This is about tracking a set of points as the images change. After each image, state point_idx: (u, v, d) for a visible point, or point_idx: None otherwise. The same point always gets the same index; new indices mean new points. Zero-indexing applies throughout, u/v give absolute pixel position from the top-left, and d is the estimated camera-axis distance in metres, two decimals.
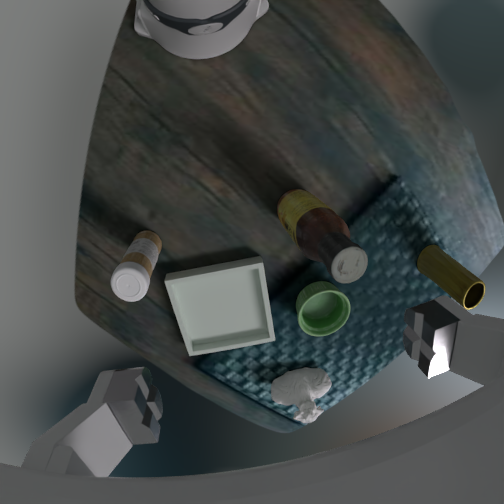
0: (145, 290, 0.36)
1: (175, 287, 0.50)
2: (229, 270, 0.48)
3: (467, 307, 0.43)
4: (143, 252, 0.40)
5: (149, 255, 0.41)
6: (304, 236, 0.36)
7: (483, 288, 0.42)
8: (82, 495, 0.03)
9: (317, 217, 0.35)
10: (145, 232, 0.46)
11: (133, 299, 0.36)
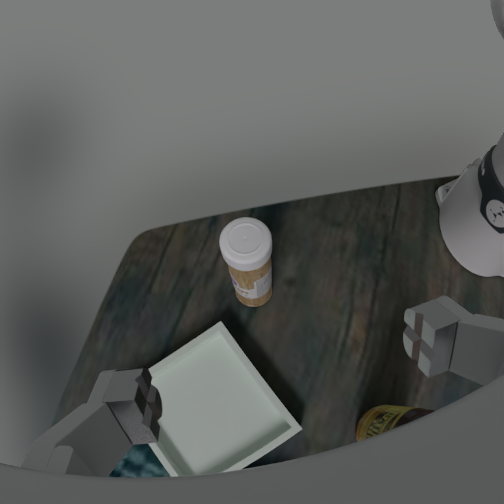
0: (247, 261, 0.27)
1: (211, 341, 0.37)
2: (272, 394, 0.32)
3: None
4: None
5: (269, 274, 0.33)
6: (416, 418, 0.21)
7: None
8: (82, 495, 0.03)
9: None
10: None
11: (227, 250, 0.27)
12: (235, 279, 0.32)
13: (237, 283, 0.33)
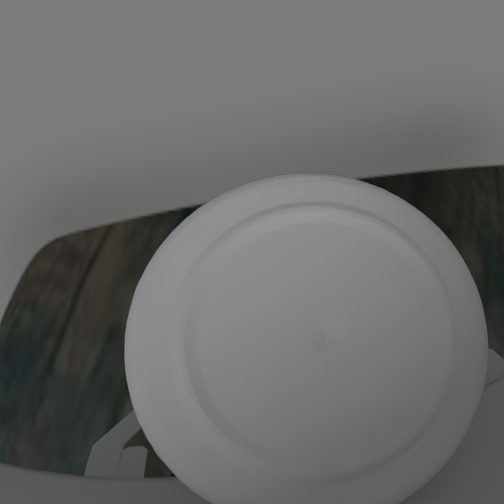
0: None
1: None
2: None
3: None
4: None
5: None
6: None
7: None
8: (82, 495, 0.03)
9: None
10: None
11: (174, 435, 0.03)
12: None
13: None
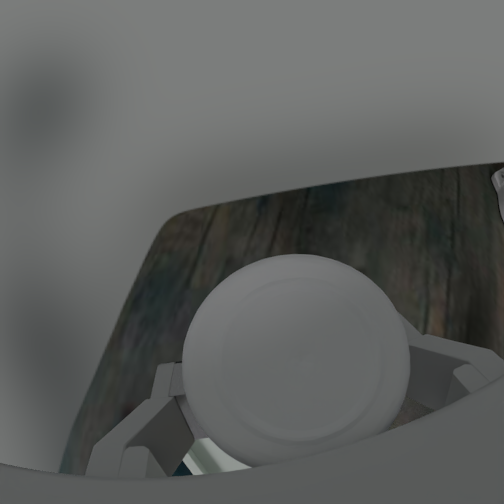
0: None
1: None
2: None
3: None
4: None
5: None
6: None
7: None
8: (82, 495, 0.03)
9: None
10: None
11: (222, 426, 0.05)
12: None
13: None
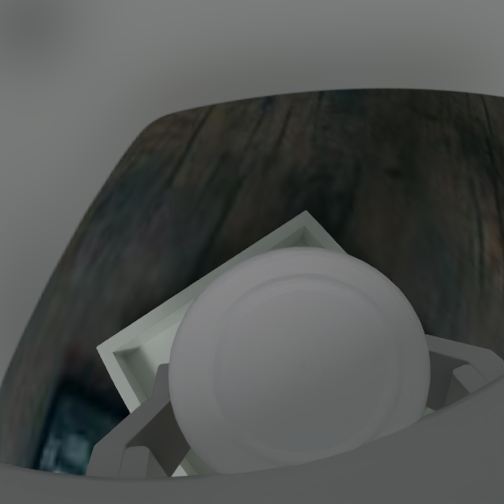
0: None
1: None
2: None
3: None
4: None
5: None
6: None
7: None
8: (82, 495, 0.03)
9: None
10: None
11: (214, 446, 0.04)
12: None
13: None
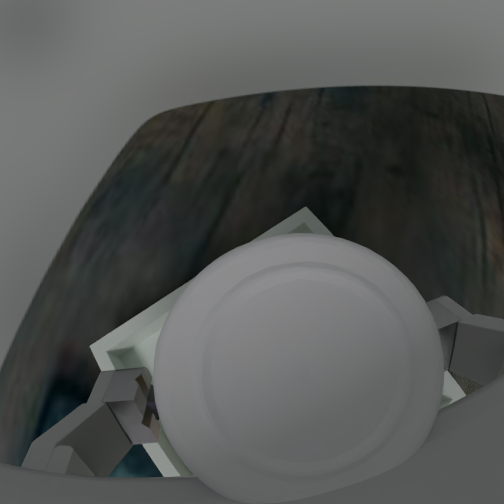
0: None
1: None
2: None
3: None
4: None
5: None
6: None
7: None
8: (82, 495, 0.03)
9: None
10: None
11: (202, 455, 0.04)
12: None
13: None
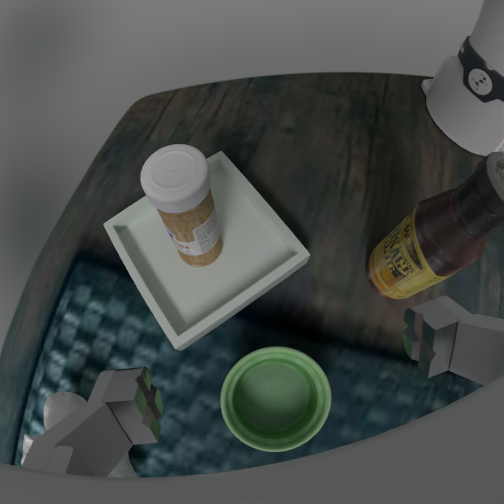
0: (176, 197, 0.19)
1: (210, 174, 0.35)
2: (275, 216, 0.32)
3: None
4: (214, 208, 0.25)
5: (212, 220, 0.25)
6: None
7: None
8: (82, 495, 0.03)
9: None
10: None
11: (149, 186, 0.19)
12: (169, 229, 0.24)
13: (173, 235, 0.25)
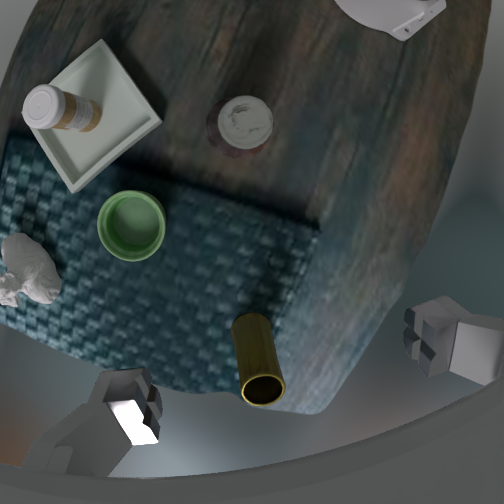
0: (42, 125, 0.24)
1: (95, 56, 0.34)
2: (136, 91, 0.35)
3: (243, 393, 0.36)
4: (78, 107, 0.29)
5: (78, 115, 0.30)
6: None
7: (277, 397, 0.36)
8: (82, 495, 0.03)
9: None
10: (97, 106, 0.35)
11: (27, 120, 0.24)
12: None
13: None
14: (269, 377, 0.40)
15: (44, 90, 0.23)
